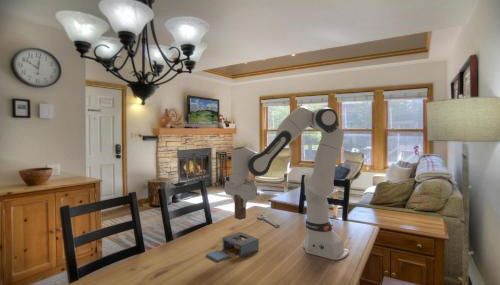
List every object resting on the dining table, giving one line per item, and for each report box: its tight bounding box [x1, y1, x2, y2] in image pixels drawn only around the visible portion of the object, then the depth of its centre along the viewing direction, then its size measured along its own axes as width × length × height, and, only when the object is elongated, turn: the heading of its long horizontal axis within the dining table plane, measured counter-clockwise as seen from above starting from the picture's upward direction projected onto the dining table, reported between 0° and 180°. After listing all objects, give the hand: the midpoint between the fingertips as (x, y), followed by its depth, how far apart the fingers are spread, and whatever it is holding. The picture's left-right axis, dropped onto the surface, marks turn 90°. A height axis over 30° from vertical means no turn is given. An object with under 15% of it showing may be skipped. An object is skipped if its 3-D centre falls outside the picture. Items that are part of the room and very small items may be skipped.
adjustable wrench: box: [257, 214, 281, 229], centre depth 188 cm, size 25×6×2 cm, turn 21°
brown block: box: [234, 195, 247, 221], centre depth 143 cm, size 4×4×12 cm
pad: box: [205, 249, 230, 263], centre depth 136 cm, size 9×7×1 cm
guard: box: [222, 231, 260, 259], centre depth 144 cm, size 14×12×6 cm
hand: (240, 206), depth 143 cm, fingers closed on brown block, 4 cm apart
